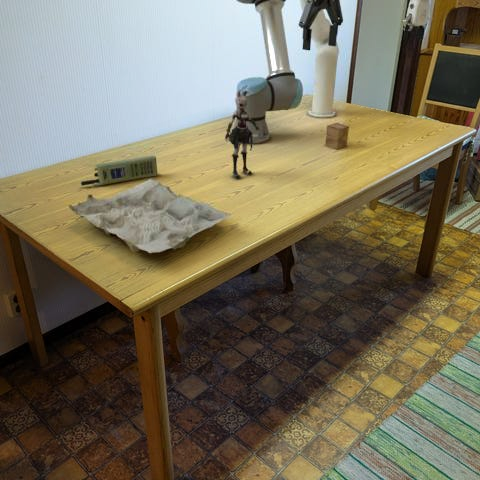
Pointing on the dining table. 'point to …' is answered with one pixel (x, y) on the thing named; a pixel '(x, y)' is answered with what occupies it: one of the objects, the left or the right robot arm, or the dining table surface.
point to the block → (337, 135)
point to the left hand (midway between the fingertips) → (319, 47)
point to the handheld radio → (124, 170)
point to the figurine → (241, 131)
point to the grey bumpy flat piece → (149, 216)
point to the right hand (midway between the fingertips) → (412, 39)
